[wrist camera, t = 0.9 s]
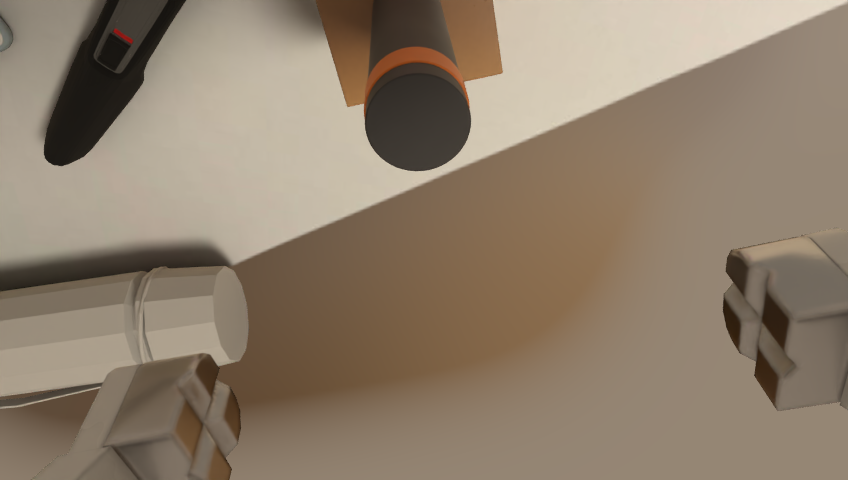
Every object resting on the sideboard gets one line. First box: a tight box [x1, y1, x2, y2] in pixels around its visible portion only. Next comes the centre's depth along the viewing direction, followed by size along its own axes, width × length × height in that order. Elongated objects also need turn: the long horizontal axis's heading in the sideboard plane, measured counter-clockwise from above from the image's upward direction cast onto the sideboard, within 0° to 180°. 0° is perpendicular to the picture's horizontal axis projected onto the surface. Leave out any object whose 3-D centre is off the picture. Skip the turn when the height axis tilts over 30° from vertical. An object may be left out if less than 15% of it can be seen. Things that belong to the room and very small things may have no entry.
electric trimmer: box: [44, 0, 186, 166], centre depth 34 cm, size 4×16×3 cm, turn 140°
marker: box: [364, 0, 471, 171], centre depth 21 cm, size 3×3×11 cm
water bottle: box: [0, 266, 249, 408], centre depth 43 cm, size 9×8×25 cm
